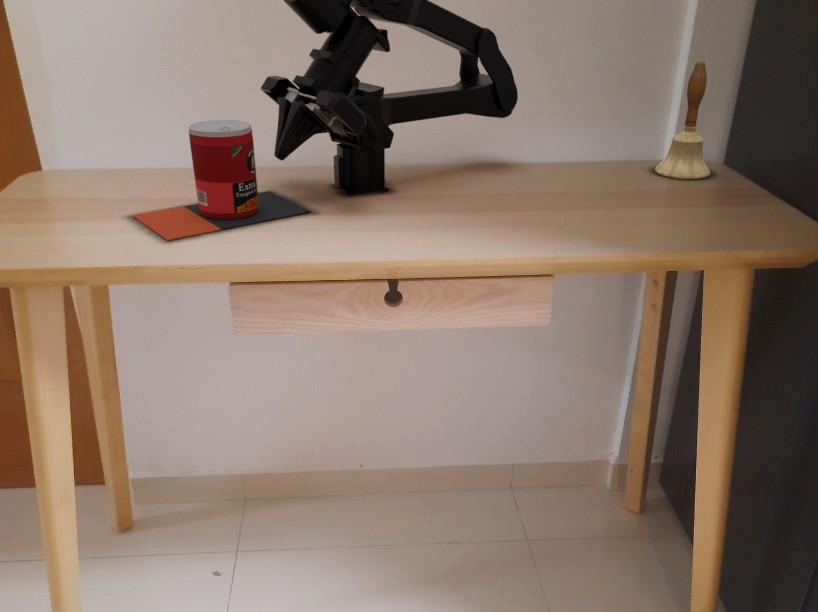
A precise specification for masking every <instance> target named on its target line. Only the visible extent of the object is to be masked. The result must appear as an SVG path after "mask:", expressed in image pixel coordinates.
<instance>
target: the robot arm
mask: <svg viewBox="0 0 818 612" xmlns="http://www.w3.org/2000/svg"><path fill="white" fill-rule="evenodd" d="M283 2H284V3H285V4H286V5H287V6H288V7H289V8H290V9H291V10H292V12H294V13H295V14H296V15H297V16H298V17H299V18H300V19H301V21H303V22H304V23H305V24H306V26H307V27H308V28H310V30H311V31H313V33H315V34H316V35H320V34H321V35H322V34H324V33H326V34H328V36H327V37H326V39H325V41H324V42H323V43H322V45H321V47H320V48H319V49H317V48H312V49H311V51H310V53H309V54H308V56H309V57H310V58H311V59H312V61H311V62H310V64H309V66H308V68H307V69H306V71H305V72H304V74H303V76H302V75H297V74H296V75H295V77H294V78H293V80H292V81H291V80H290V79H288V77H283V76H280V75H271V76H267V77H266V79H265V80H264V82H263V83H262V84H261V86H260V90H261V91H262V92H263V93H264V94H265V95H266V96H267V97H269V99H271V100H272V101H273V102H275V104H276V105H278V117H277V118H278V119H277V128H276V129H277V130H276V138H275V144H274V145H275V146H274V153H273V154H274V157H275V158H276V159H278V160H279V161H284V160H285V159H286V158H288V157H290V155H291V154H292V153H294V152H295V151H296V150H297V149H299V148H300V147H301V146H302V145H303V144H304V143H305V142H307V141H308V140H309V139H310V138H312V137H314V136H315V135H318V134H327V133H328V135H329V138H330V140H331V142H333V143H336V154H335V155H334V156H333V174H334V175H333V178H334V179H333V180H334V186H336V187H337V188H338V189H339V190H340V191H342V192H343V193H344V194H345V195H348V196H351V195H362V194H370V193H381V192H388V191H390V187H389V186H388V185H387V184H386V173H385V172H386V163H385V162H386V161H385V160H386V159H385V158H386V156H385V155H386V154H385V153H386V152H385V151H386V150H387V149H390V148H391V146H392V143H393V139H394V136H395V133H394V131H393V130H392V129H391V128H390V126H392V125H398V124H405V123H410V122H416V121H417V122H419V121H424V120H432V119H438V118H439V119H440V118H445V117H446V118H447V117H450V116H451V117H452V116H458V115H459V116H460V115H473V116H474V115H475V116H480V117H488V118H496V119H497V118H498V119H505V118H508V117H510V116H511V115H512V114H513V111H514V109H515V107H516V106H517V103H518V99H519V97H518V96H519V95H518V88H517V85H516V82H515V77H514V74H513V70H512V68H511V66H510V64H509V63H508V61H507V59H506V58H505V57H504V55H503V53H502V52H501V50H500V47H499V44H498V39H497V36H496V34H495V33H494V31H492V30H491V29H490V28H488V27H483V26H480V25H478V24H476V23H474V22H473V21H471V20H468V19H466V18H465V17H462V16H460V15H458V14H456V13H455V12H452V11H450V10H449V9H446V8H444V7H442V6H441V5H439V4H436V3H434V2H432V1H430V0H283ZM371 20H373V21H378V22H383V23H389V24H394V25H401V26H405V27H407V28H409V29H411V30H414V31H416V32H417V33H418V32H419V33H420V34H423V35H424V36H426V37H428V38H431V39H434V40H435V41H438V42H439V43H442V44H444V45H446V46H448V47H451V48H453V49H455V50H457V51H458V52H459V56H460V63H459V71H458V72H459V73H458V75H459V80H458V82H456V83H455V84H453V85H448V86H441V87H431V88H423V89H414V90H405V91H398V92H390V93H385V86H380V85H376V84H371V83H368V82H367V83H366V82H362V81H361V80H360V79H359V78H358V77H357V75H358V74H359V72H360V70H361V69H362V67H363V66H364V64H365V62H366V61H367V59H368V58H369V56H370V55H371V53H372V51H378V52H384V53H389V52H390V51H391V44H390V40H389V37H388V34H389V31H388V30H387V29H384V28H378V27H377V26H376V25H375V24H374V23H373V22H372V21H371ZM479 62H480V64H481V66H482V67H483V69H484V70H485V72H486V73H481V72H480V68H479Z"/></svg>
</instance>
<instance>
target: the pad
mask: <svg viewBox="0 0 818 612" xmlns="http://www.w3.org/2000/svg"><path fill="white" fill-rule="evenodd" d="M184 206H185V205H184ZM184 206H178V207H172V208H167V209H161V210H156V211H149V212H143V213H138V214H133V215H132V217H133V218H134V219H135V220H137V221H138V222H140V224H142V225H144V226H145V227H147V228H148V229H150V230H151V231H152V232H153V233H155V234H157V235H158V236H159V237H161V238H162V239H164V240H165V241H166V242H171V241H175V240H180V239H185V238H186V239H187V238H191V237H196V236H201V235H205V234H210V233H211V234H212V233H215V232H220V231H222V230H221V229H220V228H218V227H217V226H215V225H213V224H212V223H210V222H208V221H207V220H205V219H203V218H202V217H200V216H198V215H197V214H195V213H194V212H192V211H190V210H189V209H187V208H185V207H184Z"/></svg>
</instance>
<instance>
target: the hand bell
mask: <svg viewBox="0 0 818 612" xmlns="http://www.w3.org/2000/svg"><path fill="white" fill-rule="evenodd" d="M707 76H708V75H707V68H706V62H704V61H696V62H695V64H694V68H693V69H692V71H691V74H690V76H689V79H688V82H687V89H686V99H687V109H686V110H687V111H686V116H685V121H684V127H683V131H682V132H680V133H677V134H676V135H674V136H673V137H672V140H671V144H670V147H669V149H668V152H667V154H666V156H665V157H664V159H663V160H662V161H661V162H659V163H658V164H657V165H656V166H655V167H654V172H655V173H656V174H658V175H660V176H663V177H667V178H671V179H678V180H699V179H700V180H701V179H705V178H708V177H710V175H711V172H710V169H709V167H708V166H707V164H706V163H705V159H704V138H703V137H702V136H701V135H699V134H698V133H697V120H698V114H699V108H700V105H701V103H702V101H703V98H704V96H705V93H706V88H707V84H708V83H707V82H708V81H707V79H708V77H707Z"/></svg>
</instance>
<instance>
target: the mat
mask: <svg viewBox="0 0 818 612" xmlns="http://www.w3.org/2000/svg"><path fill="white" fill-rule="evenodd" d="M258 202H259V205H258V210H257V212H256V213H255V214H253V215H252V216H249V217H245V218H240V219H231V220H220V219H212V218H208V217H206V216H204V215H202V213H201V211H200V209H199V206H198V203H193V204H188V205H184V207H185V208H187V209H189V210H190V211H192V212H194V213H195V214H197V215H198V216H200V217H202V218H203V219H205V220H207V221H208V222H210V223H212V224H213V225H215V226H217V227H218V228H220V229H221V231H226V230H230V229H231V230H232V229H235V228H240V227H245V226H250V225H251V226H252V225H255V224H260V223H265V222H270V221H275V220H280V219H285V218H291V217H296V216H301V215H306V214H311V213H312V210H310V209H308V208H305V207H304V206H302V205H299V204H296V203H295V202H293V201H291V200H289V199H287V198H285V197H282V196H280V195H278V194H276V193H274V192H273V191H270V190H268V191H262V192H258Z"/></svg>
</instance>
